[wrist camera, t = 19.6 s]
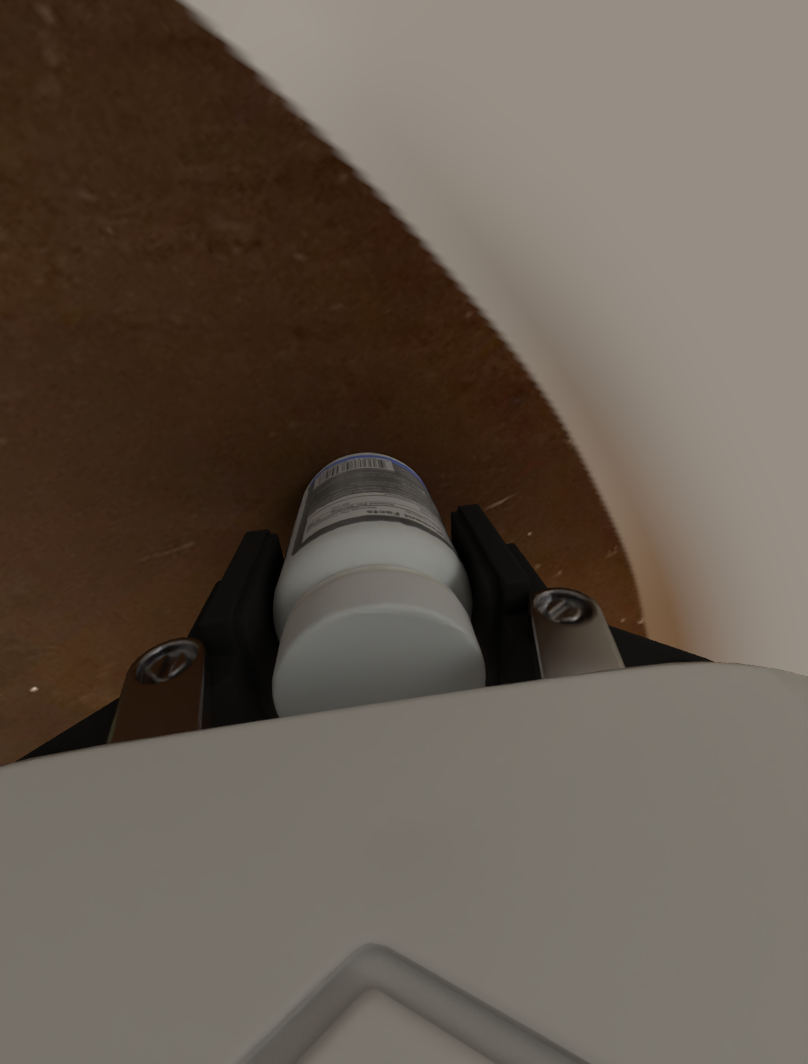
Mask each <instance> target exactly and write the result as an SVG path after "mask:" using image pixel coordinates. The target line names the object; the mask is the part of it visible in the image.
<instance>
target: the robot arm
mask: <svg viewBox="0 0 808 1064" xmlns="http://www.w3.org/2000/svg"><path fill="white" fill-rule="evenodd" d="M451 535H452V543H453V545H454V547H455V549H456V551H457V553H458V555H459V557H460V559H461V561H462V562H463V564H464V566H465V568H466V571H467V574H468V577H469V581H470V585H471V591H472V597H473V611H472V618H471V623H472V626H473V630H474V633H475V636H476V638H477V641H478V644H479V646H480V649H481V652H482V655H483V659H484V662H485V673H486V680H485V684H486V686H487V687H483V688H477V689H470V690H463V691H456V692H450V693H443V694H436V695H430V696H423V697H416V698H410V699H403V700H396V701H389V702H383V703H376V704H369V705H363V706H356V707H349V708H342V709H336V710H329V711H322V712H315V713H309V714H302V715H295V716H288V717H282V718H279V716H278V714H277V712H276V709H275V706H274V701H273V696H272V679H273V673H274V668H275V664H276V659H277V654H278V649H279V644H280V642H279V640H278V638H277V635H276V632H275V628H274V622H273V600H274V592H275V588H276V585H277V582H278V579H279V576H280V573H281V570H282V566H283V562H284V558H283V554H282V550H281V546H280V542H279V539H278V536H277V534H271V533H270V531H269V530H268V529H266V530H258V531H250V532H247V533H246V534H245V536H244V538H243V540H242V542H241V544H240V545H239V547H238V549H237V551H236V553H235V555H234V557H233V559H232V561H231V563H230V565H229V567H228V568H227V570H226V572H225V574H224V576H223V578H222V580H221V581H218V582H217V583H216V584H215V586H214V588H213V590H212V592H211V594H210V596H209V598H208V599H207V601H206V603H205V605H204V607H203V609H202V611H201V612H200V614H199V616H198V618H197V620H196V622H195V624H194V625H193V627H192V629H191V631H190V633H189V635H188V637H182V638H177V639H172V640H169V641H166V642H163V643H160V644H158V645H156V646H155V647H153V648H151V649H149V650H148V651H146V652H145V653H144V654H142V655H141V656H140V657H138V658H137V659H136V661H135V662H134V663H133V664H132V665H131V666H130V668H129V670H128V672H127V674H126V678H125V681H124V684H123V688H122V691H121V694H120V697H119V698H118V699H116V700H114V701H113V702H111V703H110V704H108V705H106V706H105V707H103V708H101V709H100V710H98V711H97V712H95V713H93V714H92V715H90V716H88V717H87V718H85V719H84V720H82V721H80V722H79V723H77V724H76V725H74V726H72V727H71V728H69V729H67V730H66V731H64V732H63V733H61V734H59V735H58V736H56V737H54V738H53V739H51V740H50V741H48V742H46V743H45V744H43V745H42V746H40V747H38V748H37V749H35V750H33V751H32V752H30V753H29V754H27V755H25V756H24V757H22V758H21V759H19V760H17V761H16V762H14V763H10V764H6V765H2V766H0V1064H808V677H807V676H804V675H800V674H796V673H792V672H788V671H784V670H779V669H774V668H767V667H761V666H754V665H746V664H739V663H721V662H713V661H711V660H708V659H706V658H703V657H700V656H697V655H694V654H691V653H688V652H686V651H683V650H680V649H676V648H674V647H671V646H668V645H665V644H662V643H659V642H656V641H653V640H650V639H647V638H644V637H641V636H638V635H635V634H632V633H629V632H626V631H624V630H621V629H618V628H615V627H612V626H609V625H607V622H606V620H605V618H604V615H603V613H602V611H601V608H600V607H599V605H598V604H597V602H596V601H595V600H593V599H592V598H591V597H590V596H588V595H586V594H584V593H582V592H580V591H577V590H573V589H569V588H561V587H554V588H547V587H546V586H545V584H544V583H543V581H542V580H541V579H540V577H539V576H538V575H537V573H536V572H535V571H534V569H533V568H532V567H531V565H530V564H529V563H528V561H527V560H526V558H525V557H524V556H523V554H522V553H521V552H520V550H519V549H518V548H517V546H516V545H515V544H514V543H510V544H505V542H504V541H503V539H502V538H501V536H500V535H499V534H498V532H497V531H496V529H495V528H494V526H493V525H492V524H491V522H490V521H489V519H488V518H487V516H486V515H485V514H484V512H483V511H482V509H481V508H480V506H479V505H478V504H473V505H464V506H458V508H457V511H456V512H452V513H451Z"/></svg>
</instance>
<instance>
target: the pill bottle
mask: <svg viewBox="0 0 808 1064" xmlns="http://www.w3.org/2000/svg"><path fill="white" fill-rule="evenodd" d="M472 611H473V597H472V591H471V585H470V581H469V577H468V574H467V571H466V568H465V566H464V564H463V562H462V561H461V559H460V557H459V555H458V553H457V551H456V549H455V547H454V545H453V543H452V541H451V540H450V536H449V535H448V533H447V531H446V529H445V527H444V524H443V522H442V520H441V517H440V515H439V513H438V510H437V508H436V506H435V504H434V503H433V501H432V499H431V497H430V494H429V492H428V490H427V488H426V487H425V485H424V483H423V482H422V480H421V479H420V477H419V476H418V475H417V474H416V473H415V472H414V471H413V470H412V469H411V468H409V467H408V466H407V465H405V464H404V463H402V462H400V461H399V460H397V459H394V458H392V457H389V456H387V455H382V454H377V453H357V454H352V455H347V456H344V457H341V458H339V459H336V460H335V461H333V462H331V463H330V464H328V465H327V466H325V467H324V468H323V469H322V470H321V471H320V472H319V473H318V474H317V475H316V476H315V477H314V478H313V480H312V481H311V482H310V484H309V485H308V487H307V489H306V491H305V493H304V496H303V498H302V501H301V503H300V507H299V511H298V514H297V517H296V521H295V523H294V526H293V529H292V533H291V536H290V540H289V544H288V546H287V550H286V554H285V558H284V562H283V566H282V570H281V573H280V576H279V579H278V582H277V585H276V588H275V592H274V600H273V622H274V628H275V632H276V635H277V638H278V640H279V642H280V644H279V649H278V654H277V659H276V664H275V668H274V673H273V679H272V696H273V701H274V706H275V709H276V712H277V714H278V716H279V718H282V717H288V716H295V715H302V714H309V713H315V712H322V711H329V710H336V709H342V708H349V707H356V706H363V705H369V704H376V703H383V702H389V701H396V700H403V699H410V698H416V697H423V696H430V695H436V694H443V693H450V692H456V691H463V690H470V689H477V688H483V687H485V680H486V673H485V662H484V659H483V655H482V652H481V649H480V646H479V644H478V641H477V638H476V636H475V633H474V630H473V626H472V623H471V618H472Z"/></svg>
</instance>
